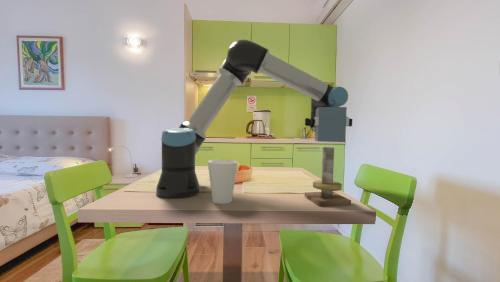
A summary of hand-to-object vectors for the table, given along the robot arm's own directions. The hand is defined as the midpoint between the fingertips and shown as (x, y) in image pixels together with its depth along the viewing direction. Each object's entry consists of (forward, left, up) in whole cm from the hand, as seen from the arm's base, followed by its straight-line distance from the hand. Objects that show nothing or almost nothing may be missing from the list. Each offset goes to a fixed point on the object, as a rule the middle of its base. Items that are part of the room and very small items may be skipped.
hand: (332, 121), depth 75 cm
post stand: (-4, +1, -27) cm, 27 cm away
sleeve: (-4, +2, -6) cm, 8 cm away
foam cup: (-8, -34, -27) cm, 44 cm away
